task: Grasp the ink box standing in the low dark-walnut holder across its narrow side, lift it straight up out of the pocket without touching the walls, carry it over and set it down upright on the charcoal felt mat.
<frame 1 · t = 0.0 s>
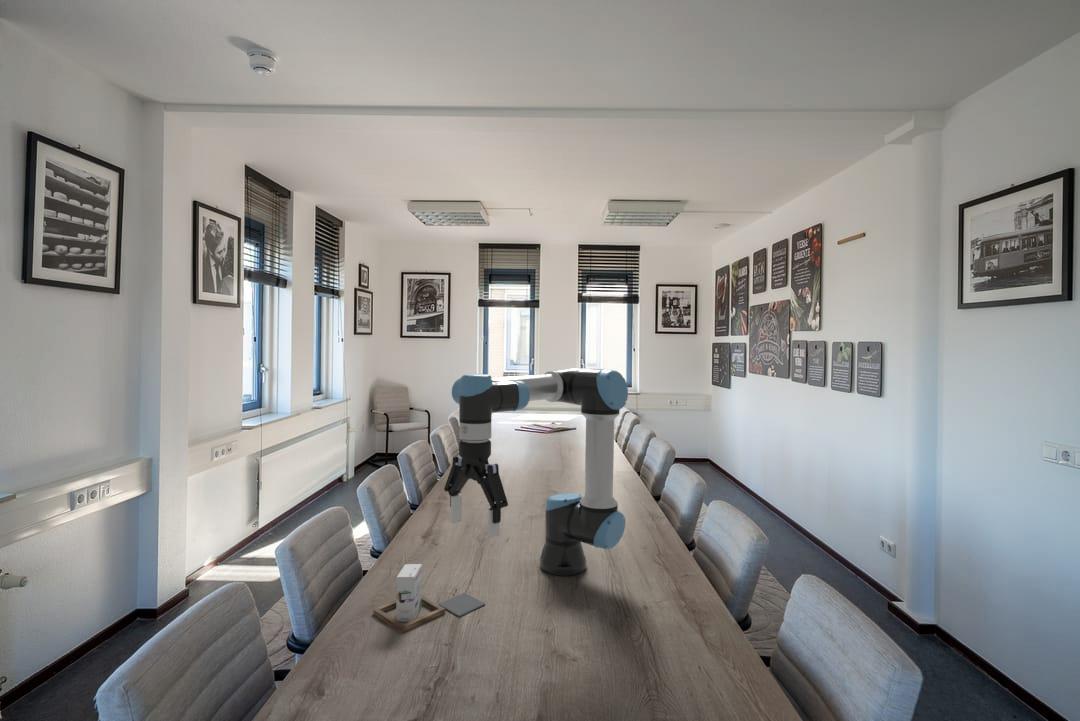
hand: (474, 528, 124), 28 cm above the table, fingers open, 13 cm apart
ink box: (409, 614, 139), resting in walnut holder
felt mat: (461, 605, 144), on the table
walnut holder: (409, 613, 139), on the table
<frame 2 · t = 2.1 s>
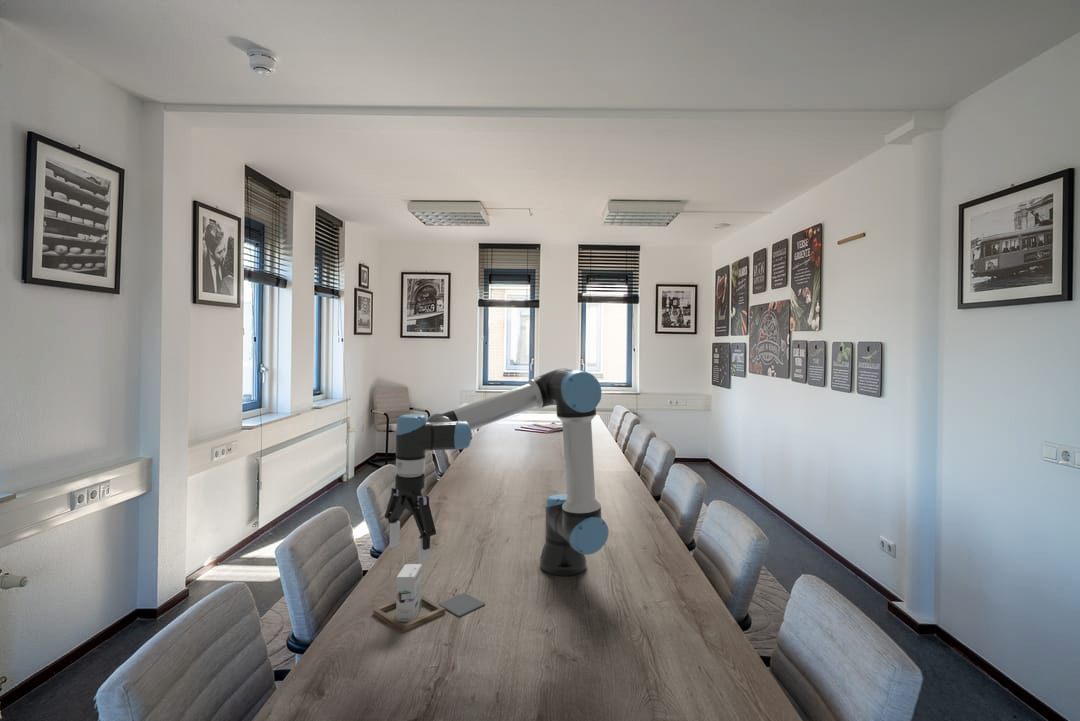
hand: (408, 553, 138), 16 cm above the table, fingers open, 13 cm apart
nothing on the table moved.
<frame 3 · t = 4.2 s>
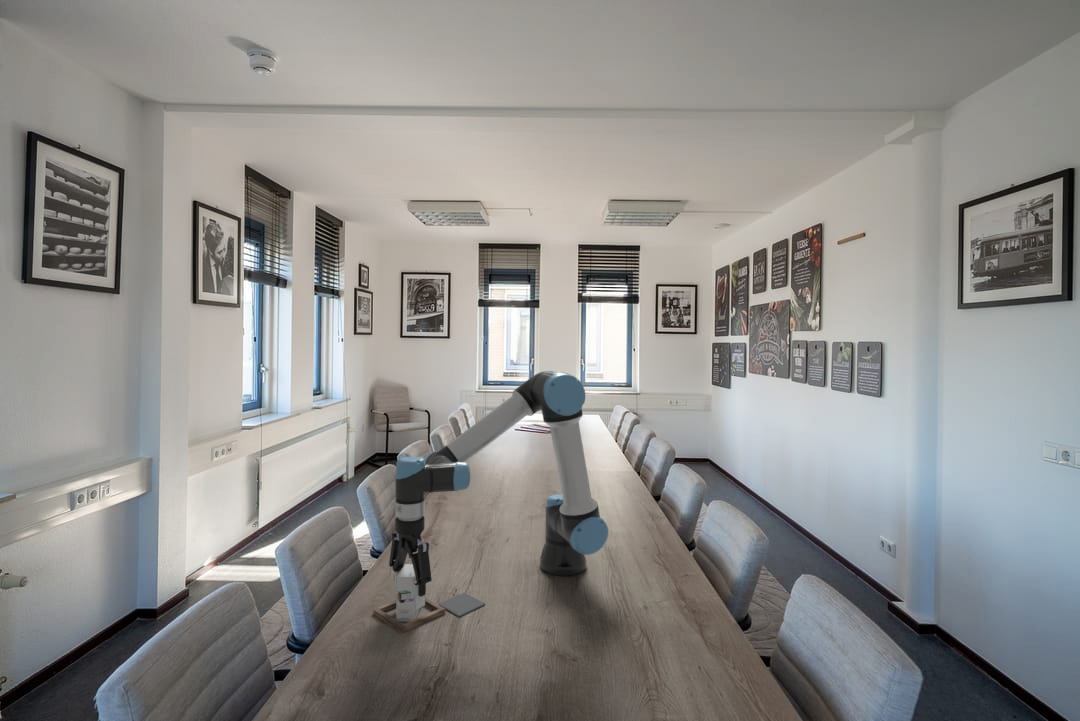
hand: (409, 600, 139), 3 cm above the table, fingers closed on ink box, 9 cm apart
ink box: (409, 614, 139), resting in walnut holder, touching gripper
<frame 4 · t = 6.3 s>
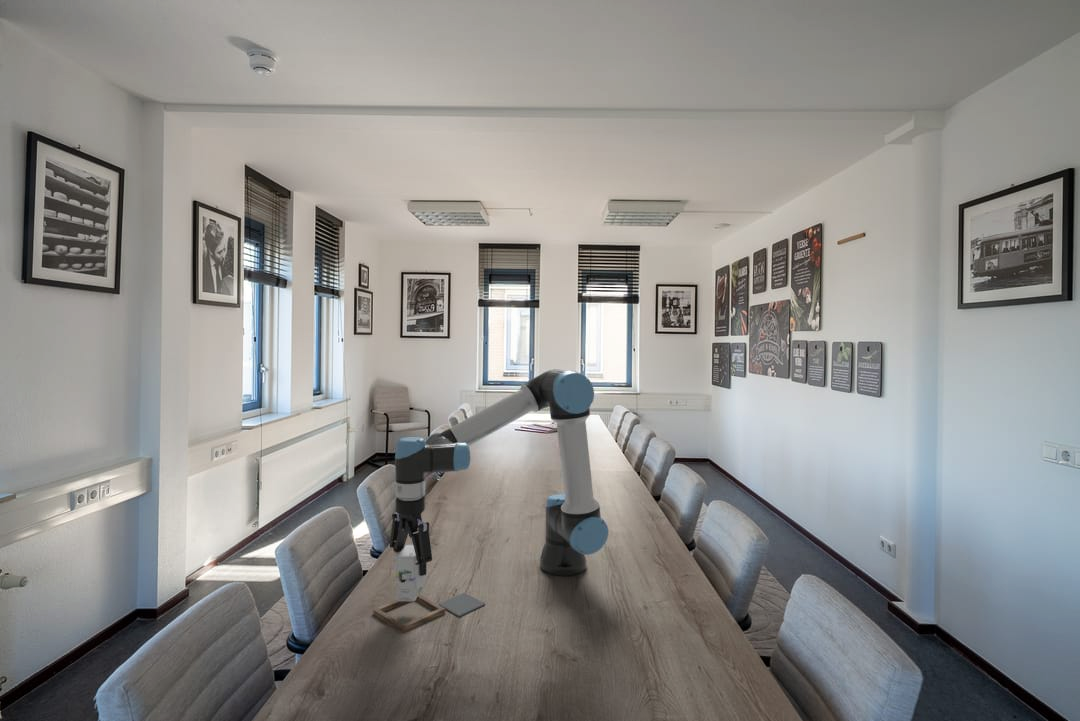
hand: (410, 580, 139), 9 cm above the table, fingers closed on ink box, 9 cm apart
ink box: (410, 594, 139), point 5 cm above the table, touching gripper
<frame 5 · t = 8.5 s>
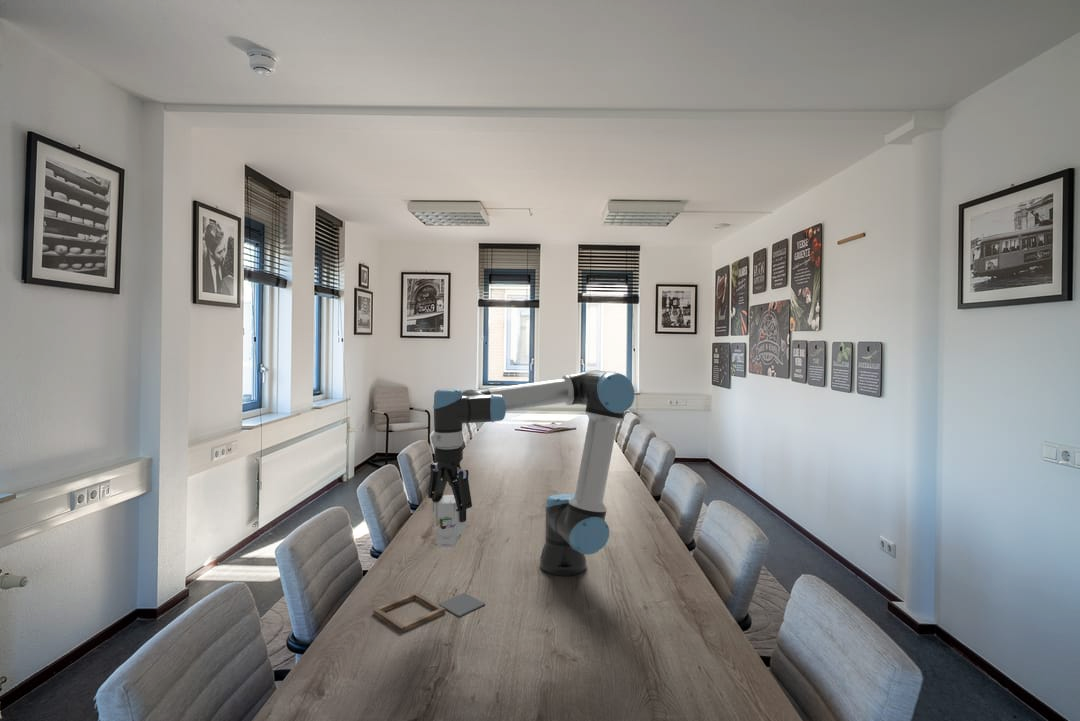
hand: (449, 528, 142), 22 cm above the table, fingers closed on ink box, 9 cm apart
ink box: (449, 542, 142), point 18 cm above the table, touching gripper
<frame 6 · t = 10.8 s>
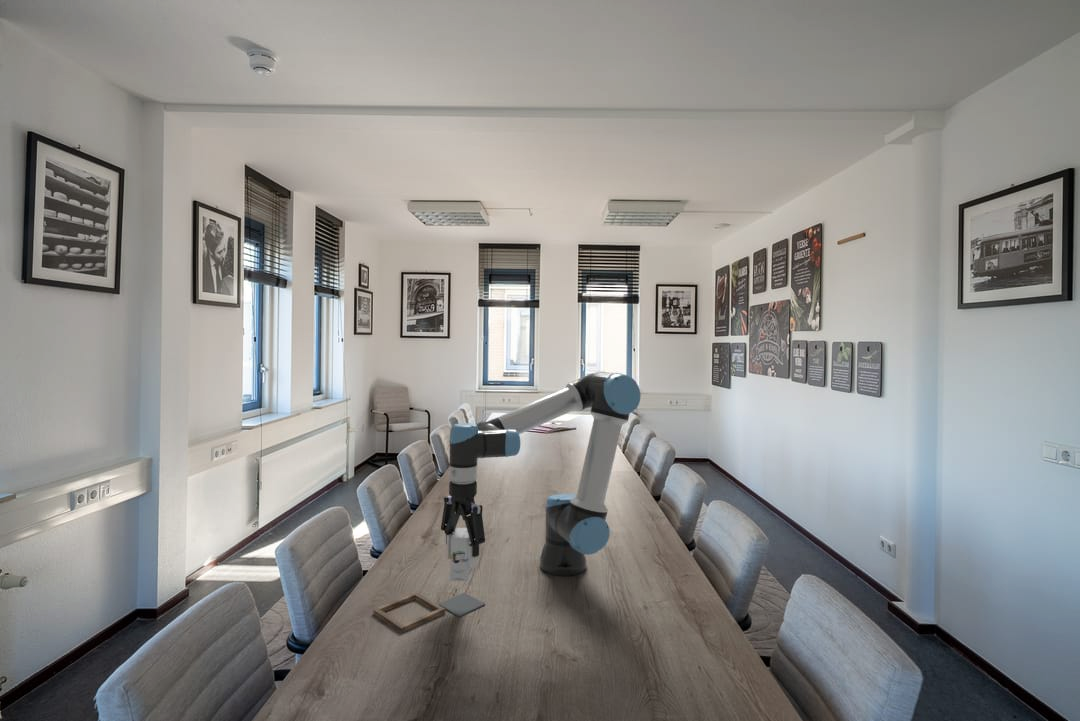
hand: (461, 562, 143), 12 cm above the table, fingers closed on ink box, 9 cm apart
ink box: (461, 575, 143), point 8 cm above the table, touching gripper
when the fingers open (5 cm above the table, at t = 13.0 s): ink box moves 2 cm, resting on felt mat.
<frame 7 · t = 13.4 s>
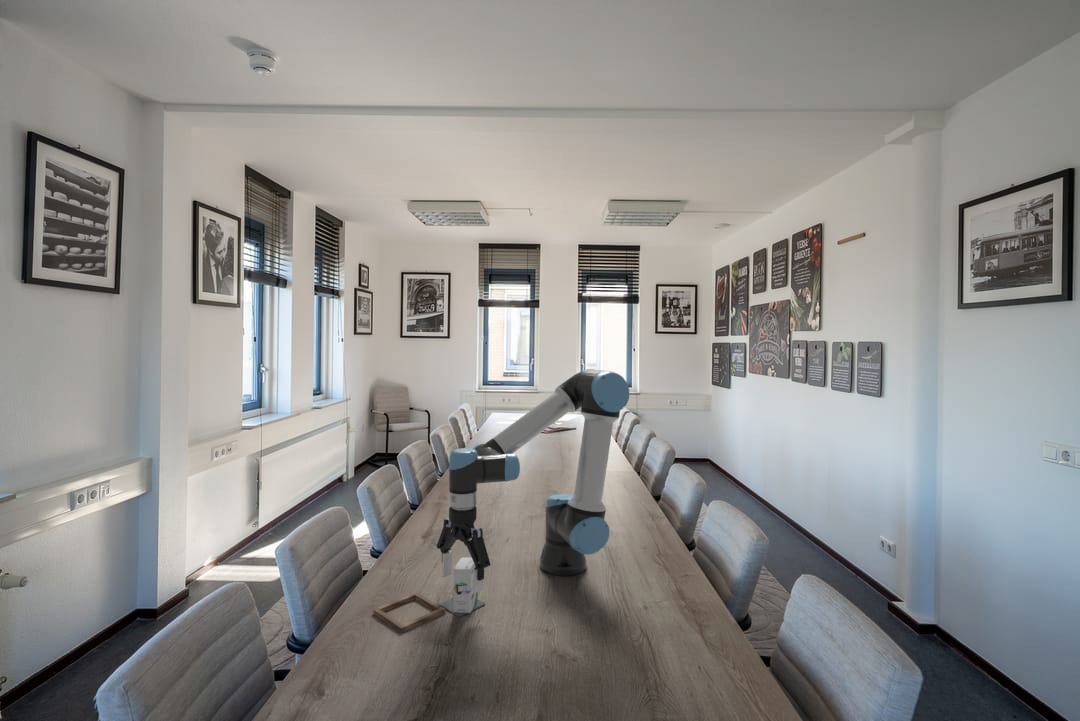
hand: (462, 583, 143), 6 cm above the table, fingers open, 13 cm apart
ink box: (466, 606, 143), resting on felt mat
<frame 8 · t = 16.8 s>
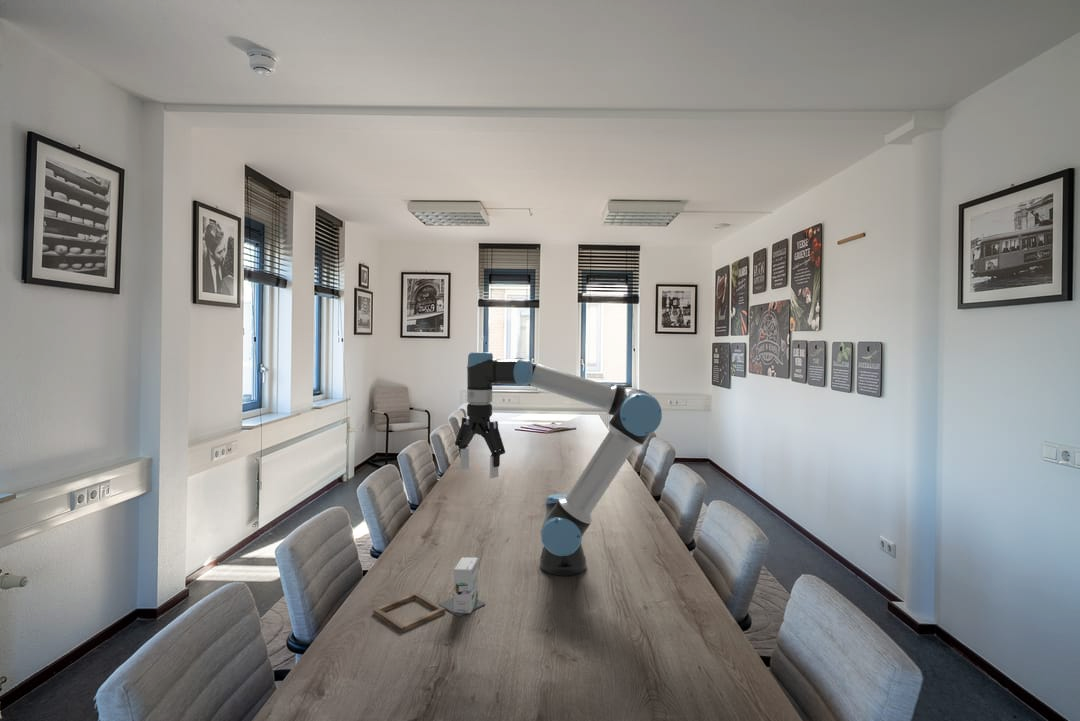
hand: (478, 473, 158), 33 cm above the table, fingers open, 13 cm apart
nothing on the table moved.
at the end: ink box inside the target area on the felt mat (1.6 cm from its centre), point 0.2 cm above the felt mat's base; ink box tilted 0°; the gripper is holding nothing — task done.
